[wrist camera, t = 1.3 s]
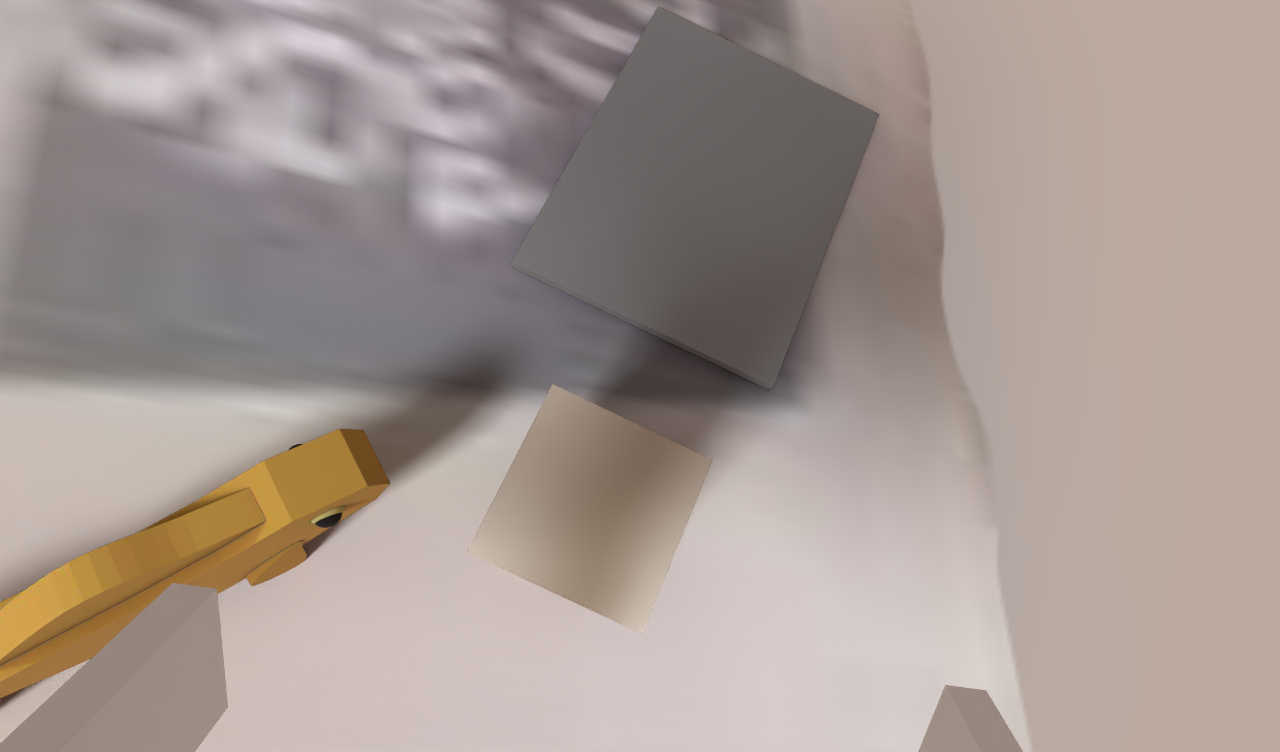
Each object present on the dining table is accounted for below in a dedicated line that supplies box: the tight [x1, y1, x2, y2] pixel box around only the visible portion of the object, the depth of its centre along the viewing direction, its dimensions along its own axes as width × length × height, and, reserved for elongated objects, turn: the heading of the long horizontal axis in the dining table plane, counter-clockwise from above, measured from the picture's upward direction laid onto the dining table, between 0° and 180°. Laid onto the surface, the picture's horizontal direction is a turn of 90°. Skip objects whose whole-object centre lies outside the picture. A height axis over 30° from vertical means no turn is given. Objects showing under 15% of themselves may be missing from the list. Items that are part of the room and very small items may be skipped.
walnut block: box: [467, 385, 713, 634], centre depth 23 cm, size 5×5×12 cm
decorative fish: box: [0, 429, 390, 698], centre depth 22 cm, size 22×3×10 cm, turn 120°
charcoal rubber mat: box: [512, 6, 879, 390], centre depth 35 cm, size 14×18×1 cm
